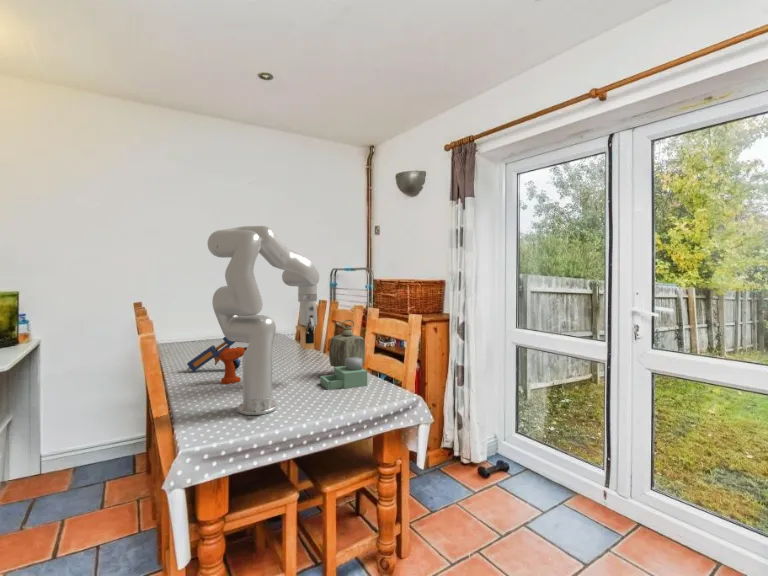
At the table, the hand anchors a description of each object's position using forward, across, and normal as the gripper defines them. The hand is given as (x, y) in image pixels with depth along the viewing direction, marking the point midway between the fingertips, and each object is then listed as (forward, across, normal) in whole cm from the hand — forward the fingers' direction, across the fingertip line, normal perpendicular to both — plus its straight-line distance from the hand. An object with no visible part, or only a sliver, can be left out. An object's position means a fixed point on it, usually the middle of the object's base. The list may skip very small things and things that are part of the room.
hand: (307, 341), depth 164 cm
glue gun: (+18, +38, +32) cm, 53 cm away
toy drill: (+18, +17, +23) cm, 34 cm away
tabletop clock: (+18, +5, -21) cm, 28 cm away
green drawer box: (+18, -7, -13) cm, 23 cm away
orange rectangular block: (+3, 0, 0) cm, 3 cm away
